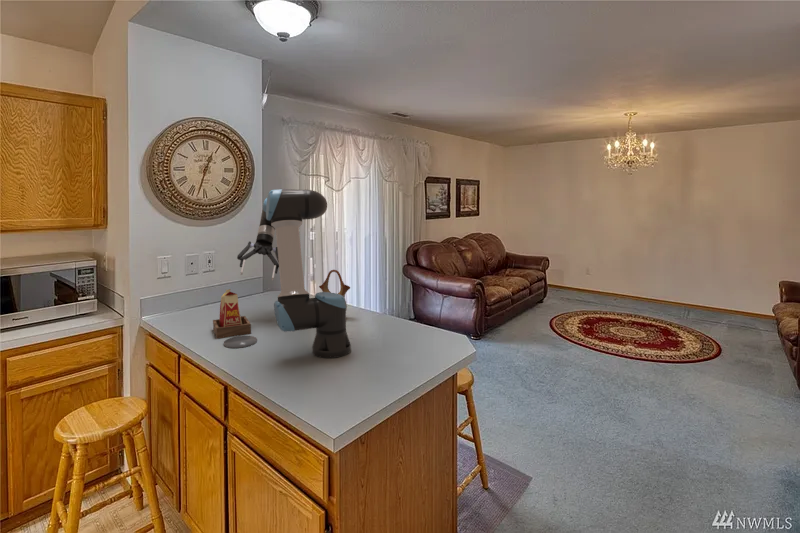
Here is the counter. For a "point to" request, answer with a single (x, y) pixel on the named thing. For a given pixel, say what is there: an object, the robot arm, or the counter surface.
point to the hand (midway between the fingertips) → (257, 276)
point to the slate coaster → (240, 341)
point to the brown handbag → (343, 287)
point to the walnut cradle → (232, 329)
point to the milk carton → (229, 310)
